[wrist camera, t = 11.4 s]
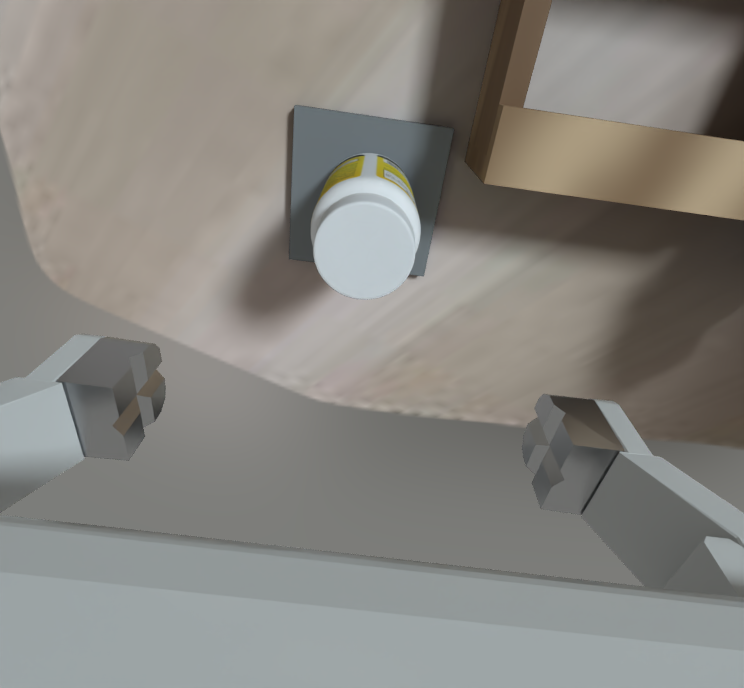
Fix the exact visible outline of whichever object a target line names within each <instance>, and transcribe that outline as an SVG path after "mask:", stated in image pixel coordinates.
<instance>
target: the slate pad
mask: <svg viewBox="0 0 744 688" xmlns="http://www.w3.org/2000/svg"><path fill="white" fill-rule="evenodd" d="M453 132H454V129H453V128H450V127H443V126H436V125H429V124H423V123H416V122H409V121H402V120H396V119H389V118H382V117H375V116H368V115H362V114H355V113H348V112H341V111H334V110H328V109H321V108H314V107H307V106H300V105H295V106H294V129H293V159H292V188H291V217H290V246H289V259H293V260H301V261H309V262H315V261H314V256H313V245H312V240H311V219H312V215H313V212H314V209H315V206H316V204H317V202H318V200H319V197H320V195H321V193H322V190H323V188H324V186H325V183H326V181H327V179H328V177H329V175H330V174H331V172H332V171H333V169H334V168H335V167H336V166H337V165H338V164H339V163H340V162H342V161H343V160H345V159H346V158H348V157H351V156H353V155H357V154H362V153H375V154H379V155H383V156H385V157H387V158H389V159H391V160H392V161H394V162H395V163H396V164H397V165H398V166H399V167H400V168H401V169H402V170H403V171H404V173H405V174H406V176H407V178H408V180H409V183H410V185H411V189H412V193H413V196H414V200H415V203H416V207H417V211H418V214H419V219H420V225H421V235H420V242H419V246H418V249H417V252H416V254H415V260H414V264H413V267H412V270H411V272H410V275H417V276H424V273H425V268H426V263H427V258H428V254H429V249H430V244H431V239H432V234H433V229H434V224H435V220H436V215H437V210H438V205H439V200H440V195H441V190H442V186H443V181H444V176H445V171H446V166H447V161H448V156H449V151H450V147H451V142H452V137H453Z"/></svg>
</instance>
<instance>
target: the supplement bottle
mask: <svg viewBox="0 0 744 688" xmlns="http://www.w3.org/2000/svg"><path fill="white" fill-rule="evenodd" d="M420 235H421V225H420V219H419V214H418V211H417V207H416V203H415V200H414V196H413V193H412V189H411V185H410V183H409V180H408V178H407V176H406V174H405V173H404V171H403V170H402V169H401V168H400V167H399V166H398V165H397V164H396V163H395V162H394V161H392V160H391V159H389V158H387V157H385V156H383V155H379V154H375V153H362V154H357V155H353V156H351V157H348V158H346V159H345V160H343V161H342V162H340V163H339V164H338V165H337V166H336V167H335V168H334V169H333V171H332V172H331V174H330V175H329V177H328V179H327V181H326V183H325V186H324V188H323V190H322V193H321V195H320V197H319V200H318V202H317V204H316V206H315V209H314V212H313V215H312V219H311V240H312V245H313V256H314V261H315V264H316V267H317V270H318V272H319V274H320V275H321V277H322V278H323V280H324V281H325V282H326V283H327V284H328V285H329V286H330V287H331V288H332V289H334V290H335V291H337V292H338V293H340V294H342V295H344V296H347V297H350V298H354V299H364V300H368V299H376V298H380V297H383V296H385V295H388V294H389V293H391V292H393V291H394V290H396V289H397V288H398V287H400V286H401V284H402V283H403V282H404V281H405V280H406V279H407V277H408V275H409V274H410V272H411V270H412V267H413V264H414V260H415V254H416V252H417V249H418V246H419V242H420Z"/></svg>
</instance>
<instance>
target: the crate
mask: <svg viewBox="0 0 744 688" xmlns="http://www.w3.org/2000/svg"><path fill="white" fill-rule="evenodd" d="M551 3H552V0H501V2H500V7H499V11H498V15H497V20H496V24H495V29H494V33H493V38H492V42H491V47H490V51H489V55H488V60H487V64H486V69H485V73H484V78H483V82H482V87H481V91H480V96H479V100H478V104H477V109H476V113H475V118H474V122H473V127H472V131H471V136H470V140H469V144H468V149H467V153H466V158H465V162H466V164H467V165H468V166H469V167H470V168H471V169H472V171H473V172H474V173H475V174H476V175H477V176H478V177H479V179H480V180H481V181H482V182H483V183H484V184H490V185H497V186H504V187H511V188H518V189H525V190H532V191H539V192H546V193H553V194H560V195H568V196H575V197H582V198H589V199H596V200H603V201H610V202H617V203H624V204H631V205H638V206H645V207H653V208H660V209H667V210H674V211H681V212H688V213H695V214H702V215H709V216H716V217H723V218H730V219H738V220H744V141H740V140H733V139H726V138H720V137H713V136H707V135H700V134H693V133H687V132H680V131H673V130H667V129H660V128H654V127H647V126H640V125H634V124H627V123H620V122H614V121H607V120H600V119H594V118H587V117H581V116H574V115H567V114H561V113H554V112H547V111H541V110H534V109H528V108H523V105H524V102H525V98H526V94H527V91H528V87H529V83H530V80H531V76H532V72H533V69H534V65H535V61H536V58H537V54H538V50H539V47H540V43H541V39H542V36H543V32H544V28H545V25H546V21H547V17H548V14H549V10H550V6H551Z"/></svg>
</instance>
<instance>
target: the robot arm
mask: <svg viewBox="0 0 744 688" xmlns="http://www.w3.org/2000/svg"><path fill="white" fill-rule="evenodd" d="M161 362H162V359H161V353H160V349H159V347H158V346H156V344H153V343H146V342H140V341H133V340H126V339H119V338H113V337H104V336H98V335H90V334H77V335H75V336H74V337H72V338H71V339H70V340H69V341H68V342H67V343H65V344H64V345H63V346H62V347H61V348H59V350H57V351H56V352H55V353H54V354H52V355H51V356H50V357H49V358H48V359H47V360H46V361H44V362H43V363H42V364H41V365H40V366H38V367H37V368H36V369H35V370H34V371H33V372H31V373H30V374H29V375H28V376H27V377H25V378H18V377H16V378H13V379H10V380H7V381H4V382H1V383H0V513H1V512H2V511H4V510H5V509H7V508H8V507H10V506H12V505H13V504H15V503H16V502H18V501H19V500H21V499H23V498H24V497H26V496H27V495H29V494H30V493H32V492H33V491H35V490H37V489H38V488H40V487H41V486H43V485H44V484H46V483H47V482H49V481H51V480H52V479H54V478H55V477H57V476H58V475H60V474H61V473H63V472H65V471H66V470H68V469H69V468H71V467H72V466H74V465H76V464H77V463H79V462H80V461H82V460H84V457H94V458H104V459H115V460H126V461H129V460H130V458H131V457H132V455H133V454H134V452H135V451H136V449H137V448H138V446H139V445H140V443H141V442H142V440H143V439H144V437H145V435H144V429H143V427H145V426H147V425H149V424H151V423H153V422H155V420H156V419H157V417H158V416H159V414H160V412H161V410H162V407H163V404H164V400H165V390H166V386H165V379H164V377H163V376H162V375H161V374H160V373H159V372H158V371H157V370H156V369H157V367H158V366H159V365H160V363H161ZM535 411H536V413H537V416H538V417H537V418H536V419H534V420H533V421H531V422H530V423H528V425H527V427H526V430H525V433H524V435H523V445H522V450H523V458H524V461H525V464H526V467H527V468H529V469H530V470H531V471H532V472H533V473H534V474H535V477H534V479H533V481H532V485H533V488H534V491H535V494H536V497H537V500H538V502H539V505H540V508H541V509H544V510H551V511H558V512H564V513H571V514H579V515H582V516H581V517H582V519H583V520H584V521H585V522H586V523H587V524H588V525H589V526H590V527H591V528H592V529H593V531H594V532H595V533H596V534H597V535H598V536H599V537H600V538H601V539H602V540H603V542H604V543H605V544H606V545H607V546H608V547H609V548H610V549H611V550H612V551H613V552H614V554H615V555H616V556H617V557H618V558H619V559H620V560H621V561H622V562H623V563H624V565H625V566H626V567H627V568H628V569H629V570H630V571H631V572H632V573H633V574H634V576H635V577H636V578H637V579H638V580H639V581H640V582H641V583H642V584H643V585H644V586H645V587H644V586H635V585H626V584H617V583H608V582H599V581H589V580H580V579H571V578H563V577H554V576H545V575H536V574H527V573H518V572H509V571H501V570H492V569H482V568H473V567H465V566H456V565H447V564H438V563H429V562H420V561H411V560H402V559H393V558H384V557H375V556H366V555H356V554H348V553H339V552H330V551H321V550H312V549H303V548H294V547H286V546H276V545H268V544H258V543H250V542H249V543H248V542H240V541H232V540H222V539H214V538H213V539H212V538H204V537H195V536H187V535H178V534H168V533H160V532H150V531H141V530H133V529H123V528H114V527H105V526H97V525H87V524H79V523H70V522H60V521H51V520H43V519H33V518H24V517H16V516H7V515H0V688H744V513H743V512H741V511H740V510H738V509H737V508H735V507H734V506H732V505H731V504H729V503H728V502H727V501H725V500H724V499H722V498H721V497H719V496H718V495H716V494H715V493H713V492H712V491H710V490H709V489H707V488H706V487H704V486H703V485H702V484H700V483H698V482H697V481H696V480H694V479H693V478H691V477H689V476H688V475H687V474H685V473H684V472H682V471H681V470H680V469H678V468H676V467H675V466H674V465H672V464H671V463H669V462H667V461H666V460H665V459H663V458H662V457H659V456H653V455H652V453H651V452H650V450H649V449H648V447H647V446H646V444H645V443H644V441H643V440H642V438H641V437H640V435H639V434H638V432H637V431H636V429H635V428H634V426H633V425H632V423H631V422H630V421H629V419H628V418H627V416H626V415H625V413H624V412H623V410H622V409H621V407H620V406H619V405H618V404H617V403H615V402H614V401H609V400H598V399H583V398H574V397H566V396H557V395H549V394H543V395H542V396H541V397H540V398H539V399H538V401H537V404H536V406H535Z"/></svg>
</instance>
